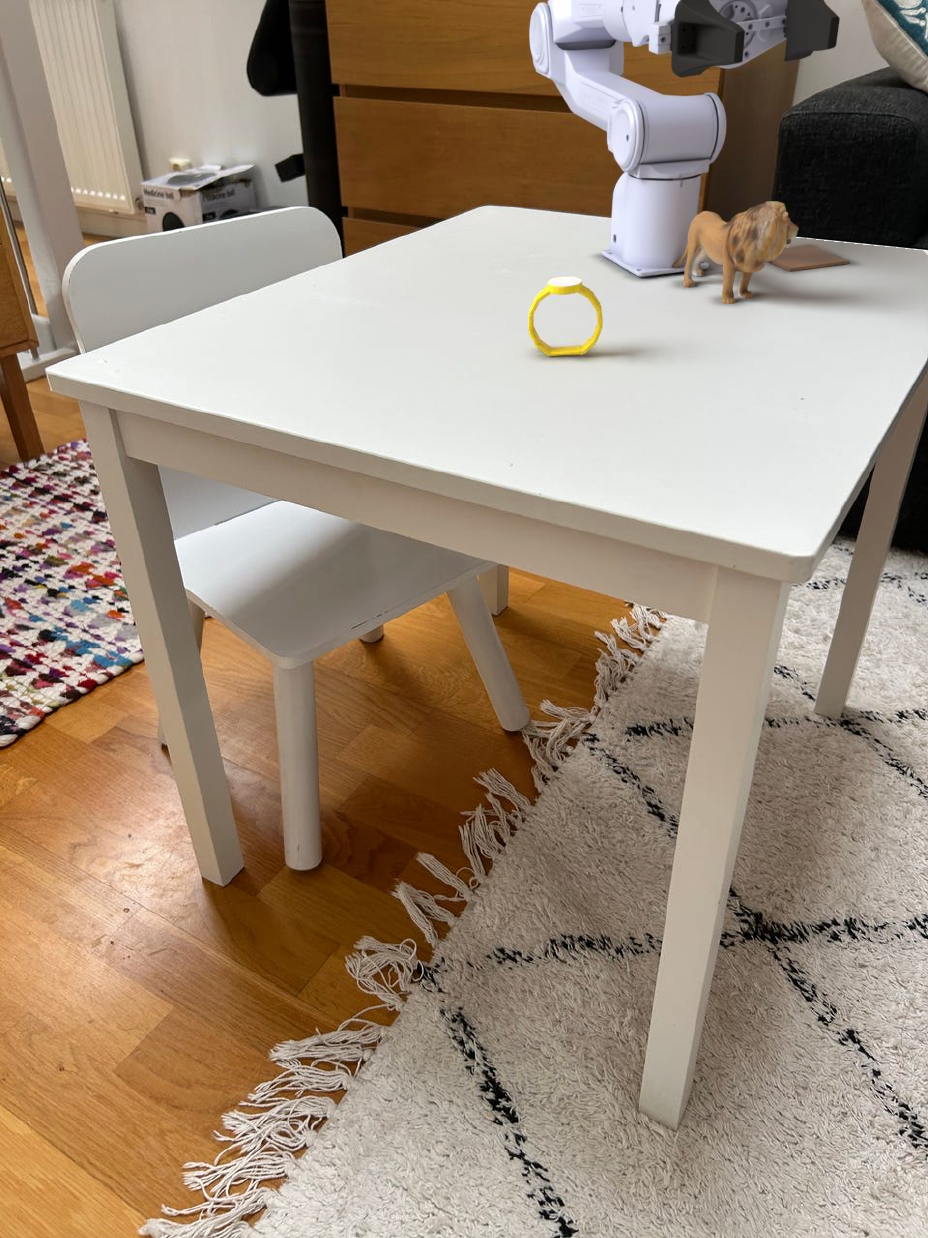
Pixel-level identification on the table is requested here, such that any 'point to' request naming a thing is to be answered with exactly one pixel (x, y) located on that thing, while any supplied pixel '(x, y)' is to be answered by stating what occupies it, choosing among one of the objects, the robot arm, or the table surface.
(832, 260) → the coaster
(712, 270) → the table surface
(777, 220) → the lion figurine
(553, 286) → the yellow signet ring
